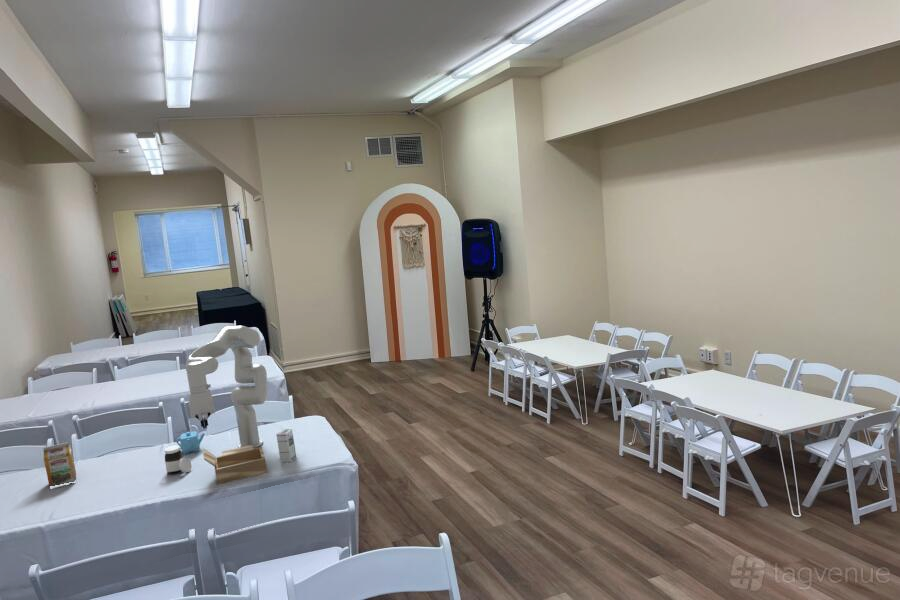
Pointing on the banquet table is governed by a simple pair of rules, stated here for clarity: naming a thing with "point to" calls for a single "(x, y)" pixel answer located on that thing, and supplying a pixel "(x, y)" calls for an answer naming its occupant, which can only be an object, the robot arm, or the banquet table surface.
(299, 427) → the banquet table surface
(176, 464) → the spread jar
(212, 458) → the flap
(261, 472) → the wooden square tray
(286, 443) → the syrup box
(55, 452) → the yellow food package
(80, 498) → the banquet table surface
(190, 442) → the teapot
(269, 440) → the banquet table surface
